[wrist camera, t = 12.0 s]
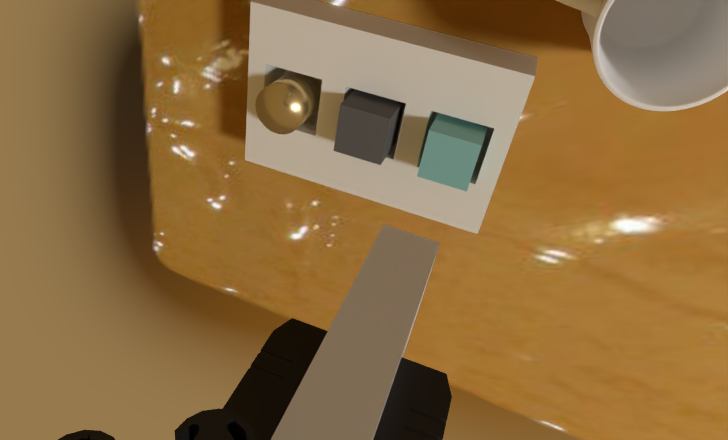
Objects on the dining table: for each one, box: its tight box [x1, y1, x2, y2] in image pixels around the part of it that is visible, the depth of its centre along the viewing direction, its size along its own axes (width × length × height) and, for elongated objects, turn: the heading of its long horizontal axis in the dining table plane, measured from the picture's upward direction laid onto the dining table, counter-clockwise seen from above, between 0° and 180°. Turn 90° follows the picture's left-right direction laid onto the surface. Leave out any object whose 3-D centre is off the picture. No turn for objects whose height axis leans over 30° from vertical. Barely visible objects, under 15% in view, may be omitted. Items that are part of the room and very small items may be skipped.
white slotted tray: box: [245, 0, 538, 234], centre depth 44 cm, size 14×22×5 cm, turn 80°
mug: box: [556, 0, 728, 111], centre depth 32 cm, size 12×8×12 cm
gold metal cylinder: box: [255, 71, 321, 134], centre depth 43 cm, size 4×4×4 cm
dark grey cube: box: [333, 89, 404, 165], centre depth 42 cm, size 4×4×4 cm
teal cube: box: [417, 113, 488, 192], centre depth 41 cm, size 4×4×4 cm
